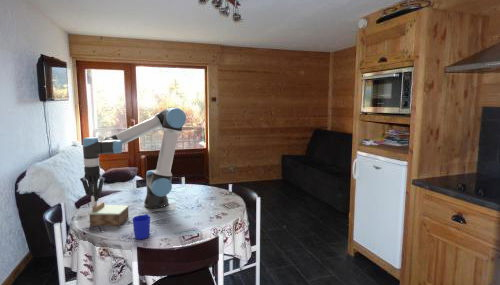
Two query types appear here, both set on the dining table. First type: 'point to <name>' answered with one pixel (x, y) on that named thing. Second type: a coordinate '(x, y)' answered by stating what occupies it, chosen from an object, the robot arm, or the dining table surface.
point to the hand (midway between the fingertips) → (94, 206)
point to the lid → (108, 209)
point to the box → (109, 219)
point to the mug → (141, 226)
